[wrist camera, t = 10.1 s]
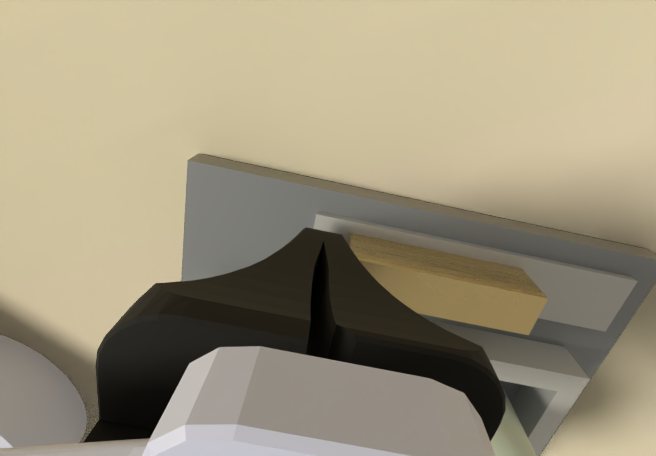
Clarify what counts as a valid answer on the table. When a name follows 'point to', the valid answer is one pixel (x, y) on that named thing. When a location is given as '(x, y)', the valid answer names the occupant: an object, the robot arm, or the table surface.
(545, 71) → the table surface
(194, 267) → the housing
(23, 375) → the wedge on round base
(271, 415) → the robot arm
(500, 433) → the pale green egg
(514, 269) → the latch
